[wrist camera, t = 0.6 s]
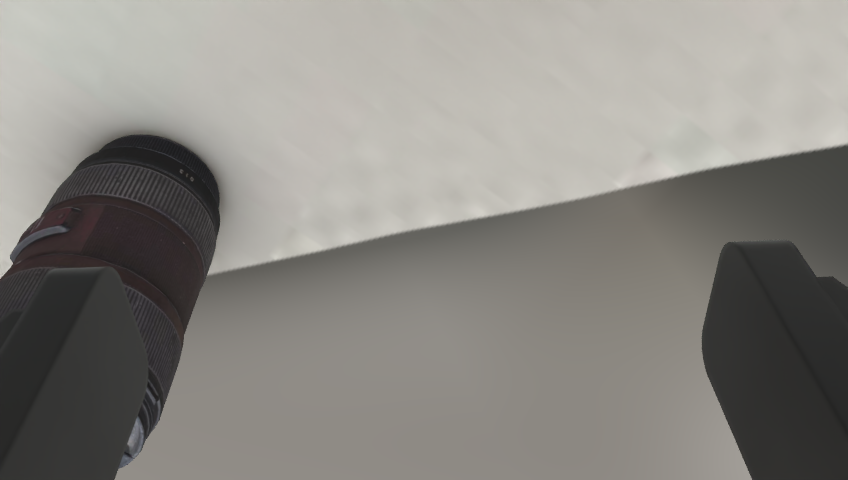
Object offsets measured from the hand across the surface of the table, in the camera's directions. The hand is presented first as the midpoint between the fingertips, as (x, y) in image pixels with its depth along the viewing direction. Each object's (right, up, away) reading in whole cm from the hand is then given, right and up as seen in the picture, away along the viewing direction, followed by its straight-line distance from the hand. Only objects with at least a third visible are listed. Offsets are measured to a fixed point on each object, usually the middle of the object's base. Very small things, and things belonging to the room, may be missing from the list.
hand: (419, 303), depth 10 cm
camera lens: (-14, +4, +30) cm, 34 cm away
